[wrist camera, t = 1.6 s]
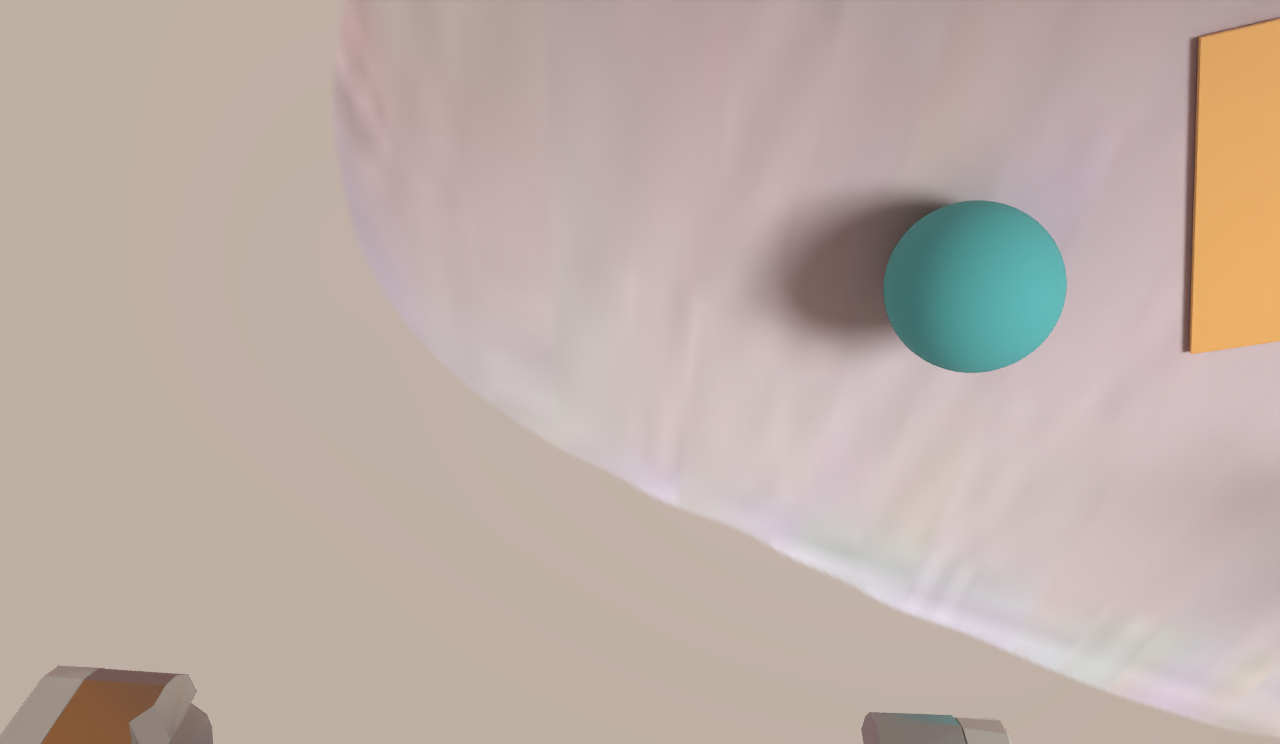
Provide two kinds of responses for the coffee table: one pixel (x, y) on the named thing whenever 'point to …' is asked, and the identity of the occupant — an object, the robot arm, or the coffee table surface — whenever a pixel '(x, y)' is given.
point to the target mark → (1237, 190)
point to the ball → (974, 286)
